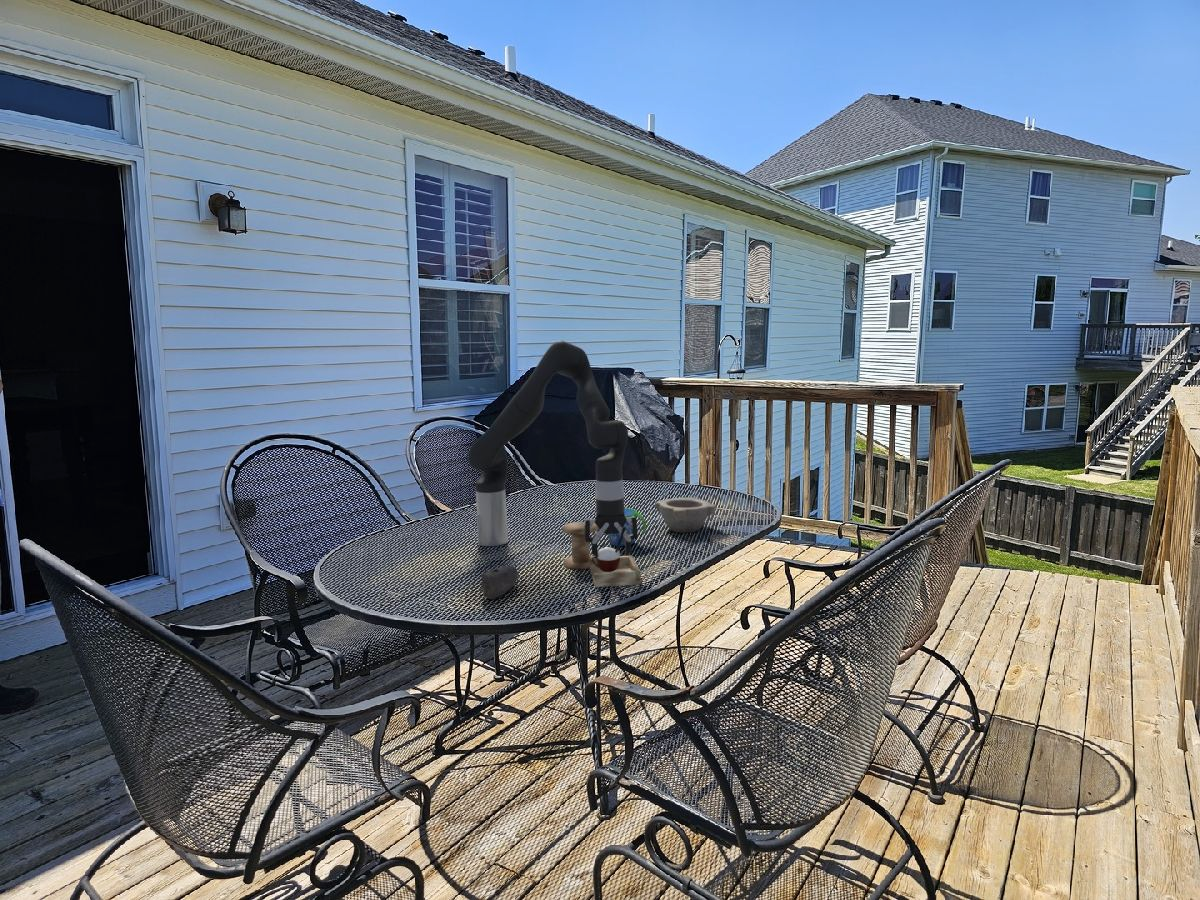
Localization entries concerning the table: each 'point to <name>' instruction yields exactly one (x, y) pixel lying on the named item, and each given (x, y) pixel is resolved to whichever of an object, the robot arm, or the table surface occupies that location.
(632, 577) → the shallow rimmed tray
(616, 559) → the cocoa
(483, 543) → the robot arm
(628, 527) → the snack cup
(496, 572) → the perforated stone tool
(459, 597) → the table surface
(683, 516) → the mortar
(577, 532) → the tan spool shaped stand
